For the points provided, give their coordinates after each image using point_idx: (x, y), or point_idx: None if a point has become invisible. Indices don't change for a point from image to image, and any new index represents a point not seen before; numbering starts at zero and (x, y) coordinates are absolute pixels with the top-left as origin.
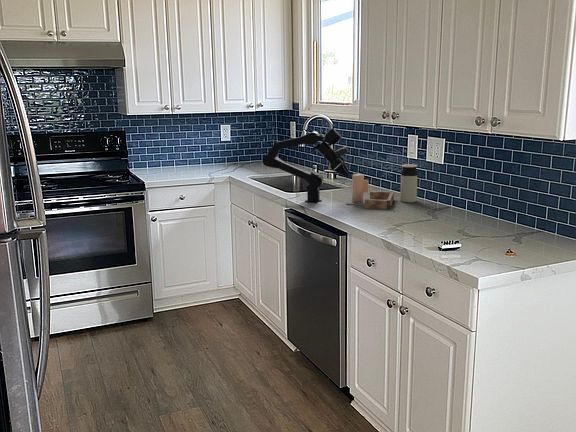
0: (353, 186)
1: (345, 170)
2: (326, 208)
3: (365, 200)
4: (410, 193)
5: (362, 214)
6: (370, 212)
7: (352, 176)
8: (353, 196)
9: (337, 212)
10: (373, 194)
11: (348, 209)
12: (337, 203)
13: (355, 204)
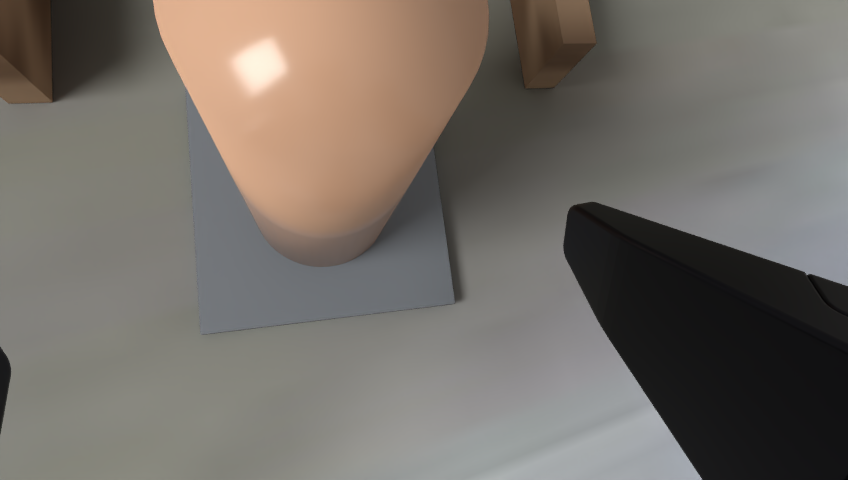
0: (406, 189)
1: (790, 268)
2: None
3: (593, 40)
4: None
5: (777, 71)
6: (690, 19)
7: (388, 160)
8: (385, 224)
9: None
10: (17, 24)
11: None
12: (414, 429)
13: (440, 202)
